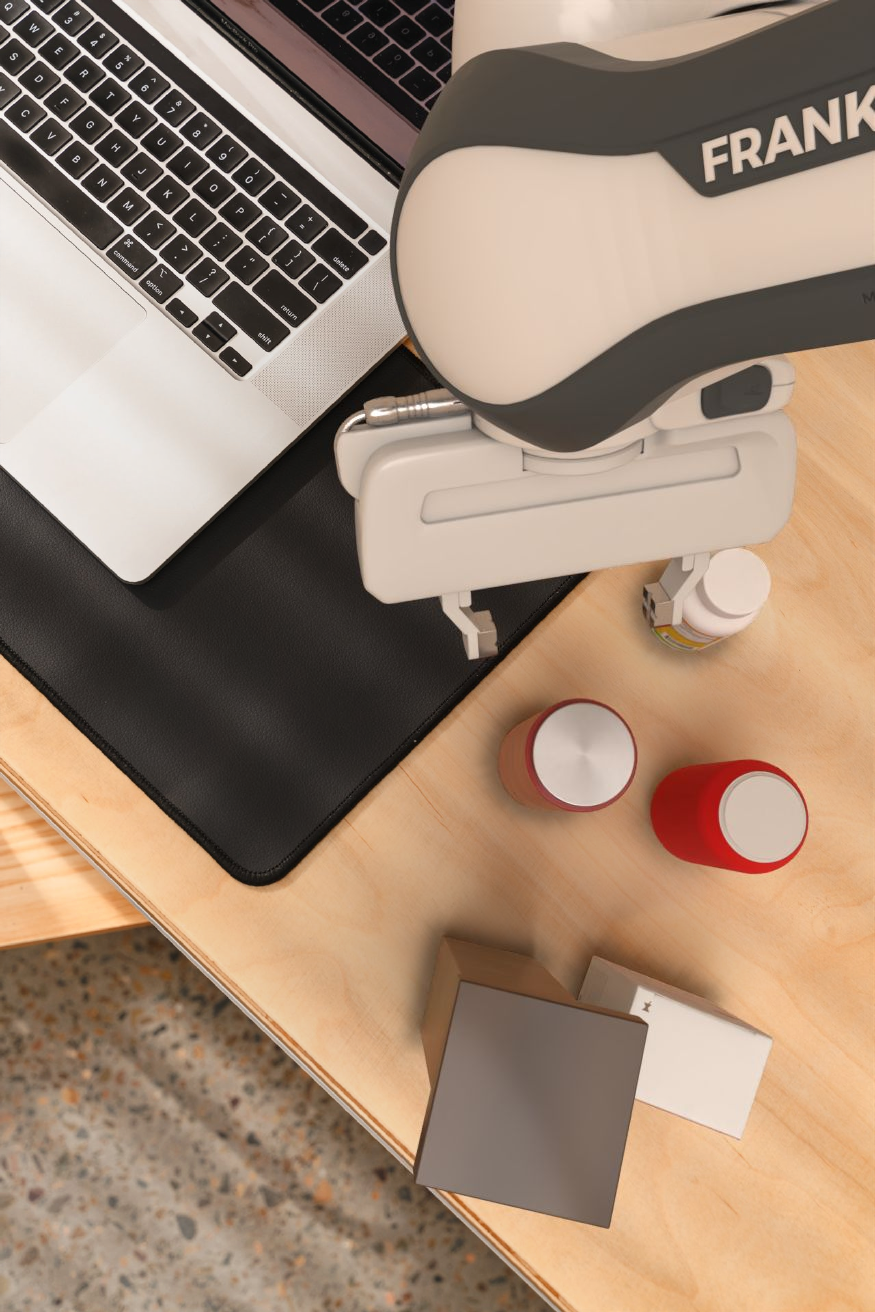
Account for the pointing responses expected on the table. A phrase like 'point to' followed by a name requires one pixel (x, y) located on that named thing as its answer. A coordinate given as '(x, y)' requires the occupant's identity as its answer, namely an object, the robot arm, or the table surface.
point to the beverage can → (731, 815)
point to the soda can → (569, 758)
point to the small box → (686, 1048)
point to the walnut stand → (524, 1087)
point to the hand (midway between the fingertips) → (571, 635)
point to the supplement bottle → (720, 601)
